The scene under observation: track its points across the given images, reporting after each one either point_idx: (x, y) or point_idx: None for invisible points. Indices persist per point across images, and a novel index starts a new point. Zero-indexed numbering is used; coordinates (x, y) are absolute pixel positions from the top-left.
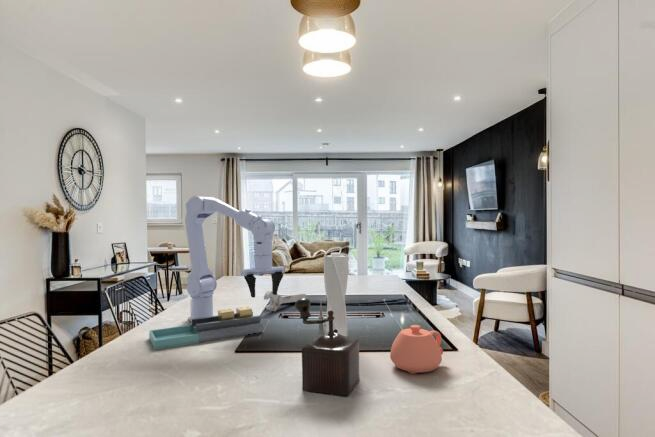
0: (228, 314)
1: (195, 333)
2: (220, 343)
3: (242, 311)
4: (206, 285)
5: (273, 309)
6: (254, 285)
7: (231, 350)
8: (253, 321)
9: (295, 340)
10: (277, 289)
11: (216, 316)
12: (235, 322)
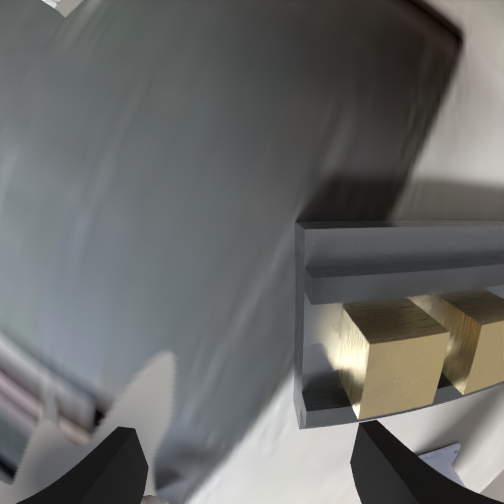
0: (496, 314)
1: None
2: (494, 164)
3: (431, 330)
4: None
5: None
6: (427, 501)
7: (473, 58)
8: (355, 266)
9: (193, 14)
10: (89, 455)
11: None
12: (458, 263)
